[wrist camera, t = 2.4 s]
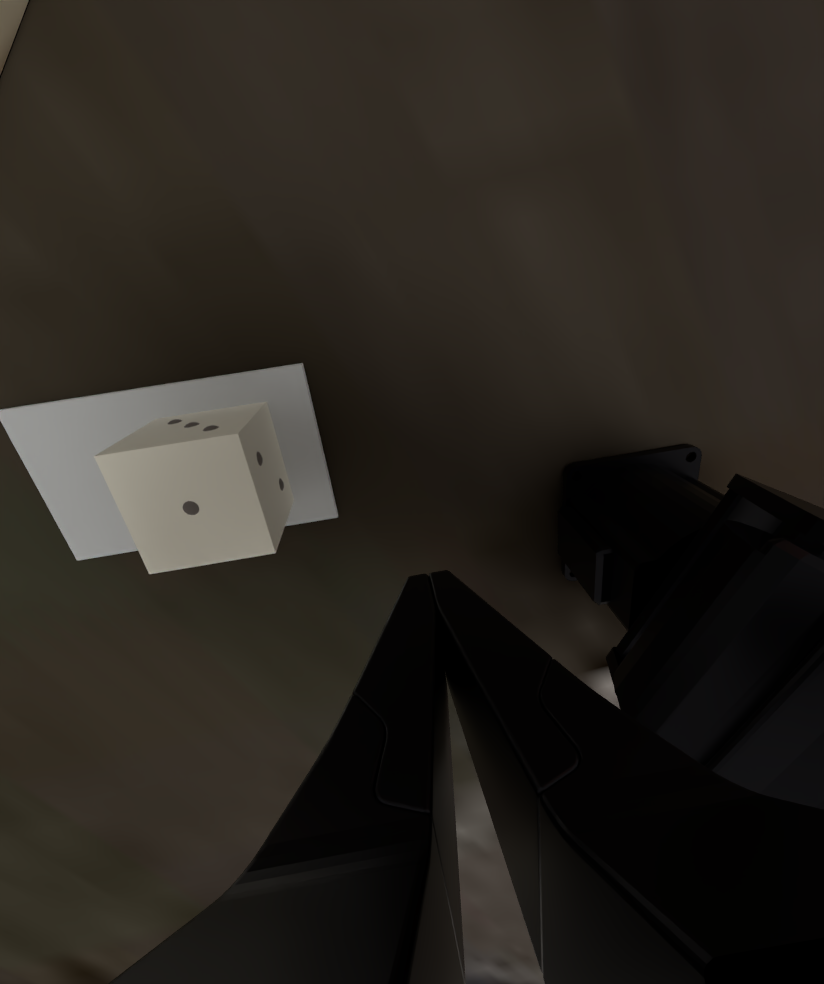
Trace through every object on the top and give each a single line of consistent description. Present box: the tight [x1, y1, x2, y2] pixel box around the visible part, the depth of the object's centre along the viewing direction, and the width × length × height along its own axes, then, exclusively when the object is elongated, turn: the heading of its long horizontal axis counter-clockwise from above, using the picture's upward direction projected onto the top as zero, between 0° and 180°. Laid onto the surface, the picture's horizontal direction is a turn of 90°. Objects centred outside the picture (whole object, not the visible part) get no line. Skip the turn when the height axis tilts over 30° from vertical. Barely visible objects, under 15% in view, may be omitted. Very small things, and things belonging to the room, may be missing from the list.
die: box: [94, 402, 294, 574], centre depth 17 cm, size 5×5×5 cm
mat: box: [0, 363, 338, 561], centre depth 19 cm, size 12×7×1 cm, turn 98°
